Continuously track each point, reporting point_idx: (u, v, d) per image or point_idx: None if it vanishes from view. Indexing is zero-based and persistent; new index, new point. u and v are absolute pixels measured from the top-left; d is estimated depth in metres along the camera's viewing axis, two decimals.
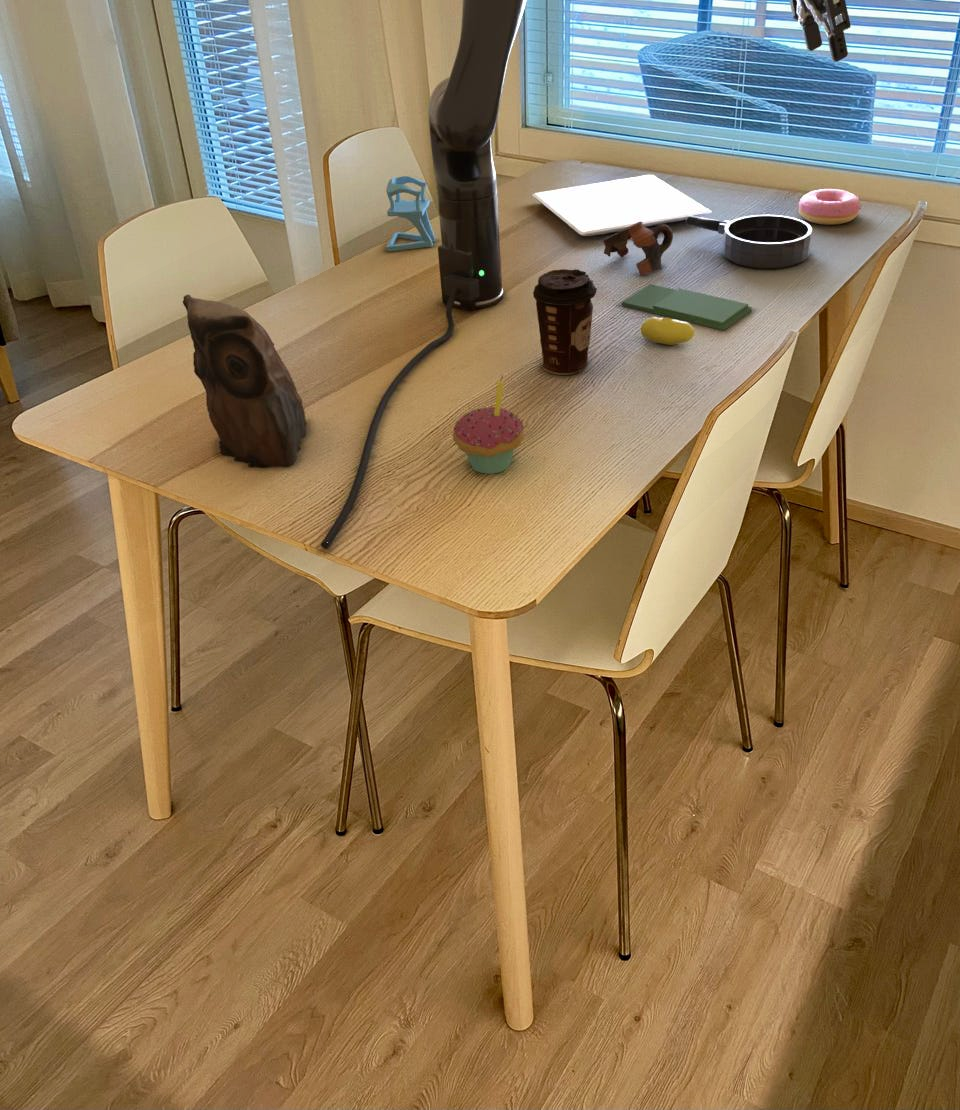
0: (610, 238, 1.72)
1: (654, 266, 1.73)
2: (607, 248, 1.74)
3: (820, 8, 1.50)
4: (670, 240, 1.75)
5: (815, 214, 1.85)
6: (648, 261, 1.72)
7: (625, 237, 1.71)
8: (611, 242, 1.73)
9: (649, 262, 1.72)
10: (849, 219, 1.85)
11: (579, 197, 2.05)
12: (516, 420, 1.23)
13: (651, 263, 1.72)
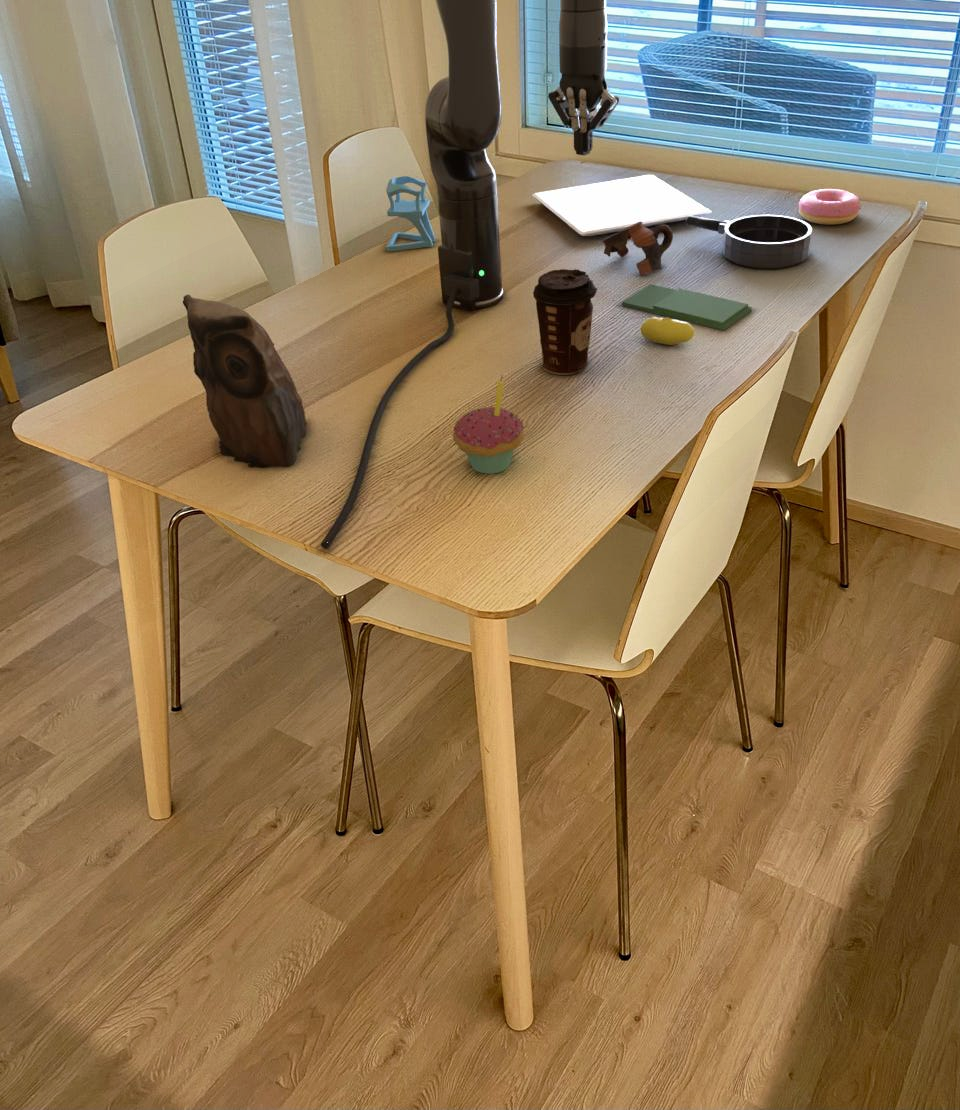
0: (610, 238, 1.72)
1: (654, 266, 1.73)
2: (607, 248, 1.74)
3: (595, 101, 1.66)
4: (670, 240, 1.75)
5: (815, 214, 1.85)
6: (648, 261, 1.72)
7: (625, 237, 1.71)
8: (611, 242, 1.73)
9: (649, 262, 1.72)
10: (849, 219, 1.85)
11: (579, 197, 2.05)
12: (516, 420, 1.23)
13: (651, 263, 1.72)
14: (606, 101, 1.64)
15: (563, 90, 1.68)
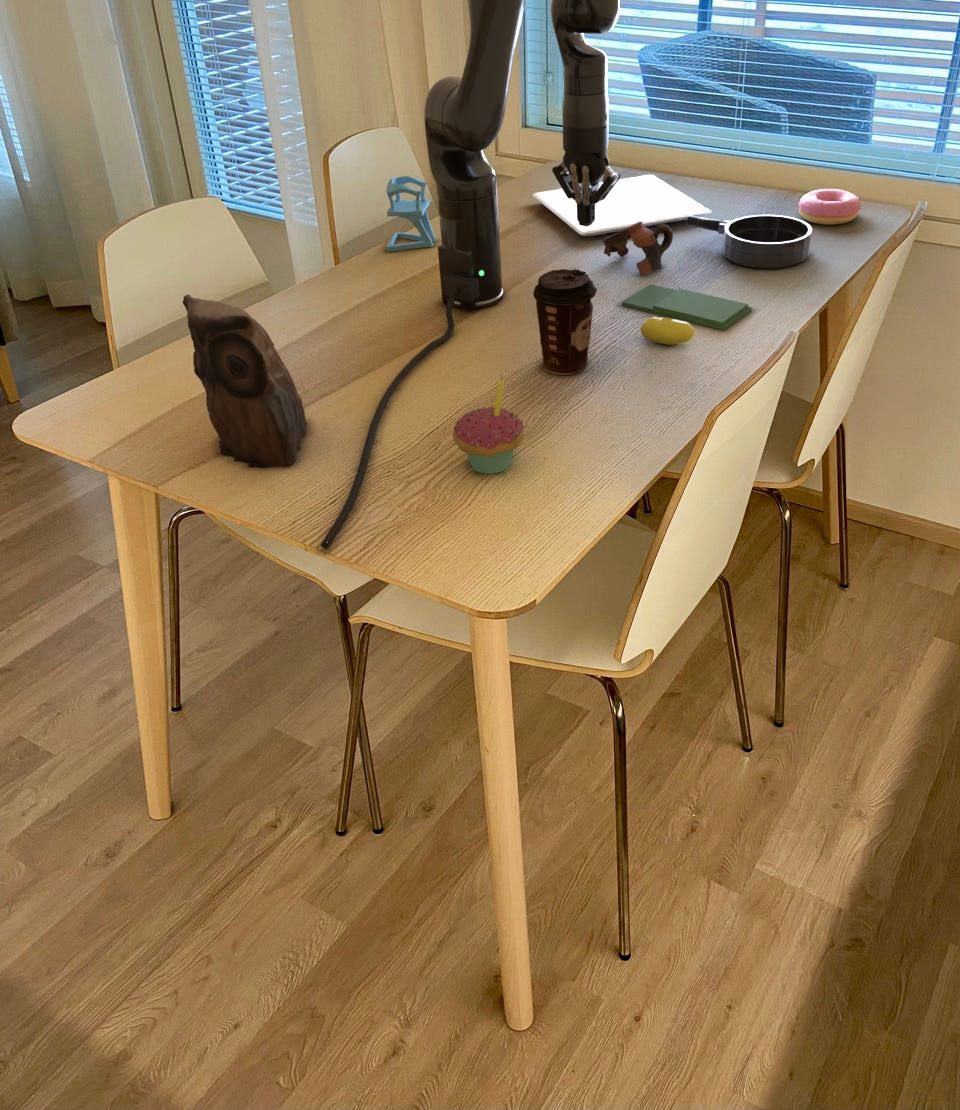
0: (610, 238, 1.72)
1: (654, 266, 1.73)
2: (607, 248, 1.74)
3: (597, 177, 1.73)
4: (670, 240, 1.75)
5: (815, 214, 1.85)
6: (648, 261, 1.72)
7: (625, 237, 1.71)
8: (611, 242, 1.73)
9: (649, 262, 1.72)
10: (849, 219, 1.85)
11: None
12: (516, 420, 1.23)
13: (651, 263, 1.72)
14: (608, 178, 1.71)
15: (566, 165, 1.75)
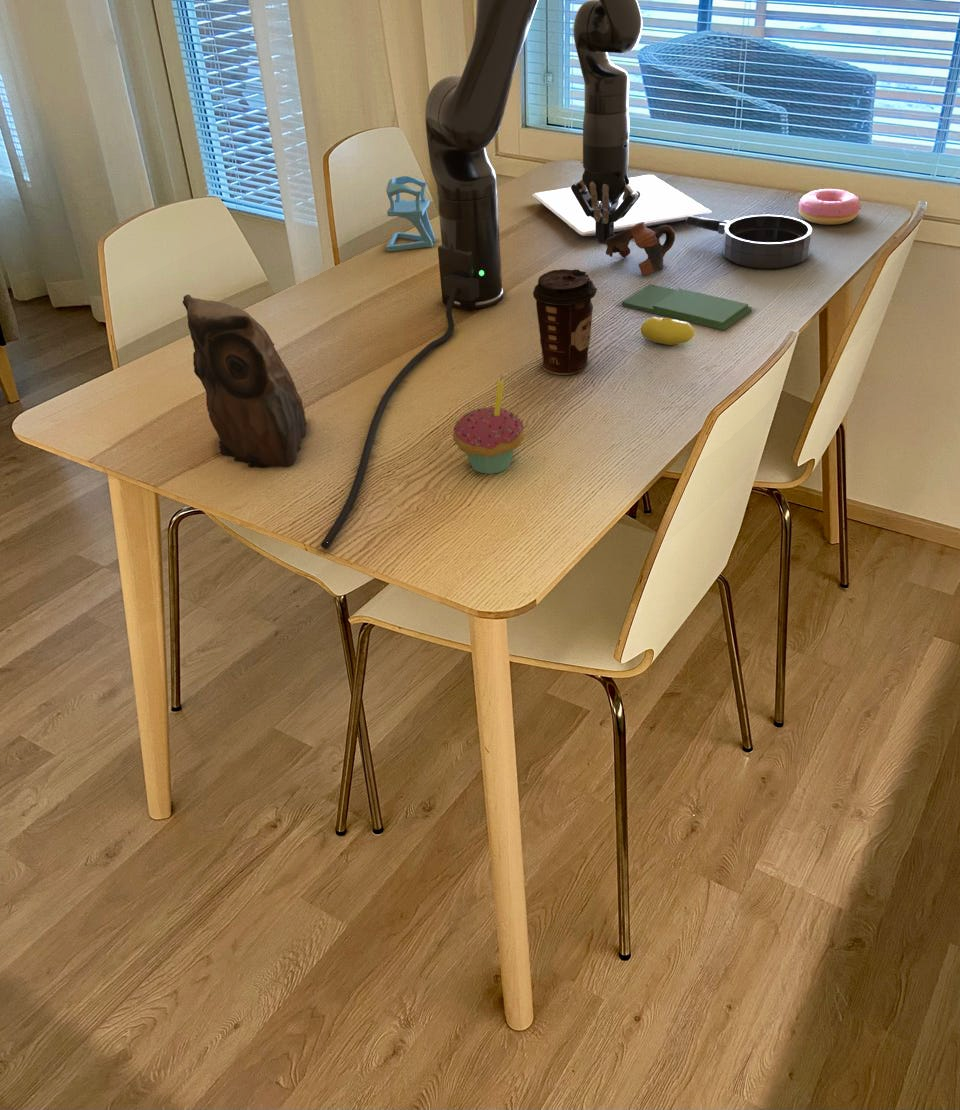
0: (612, 238, 1.72)
1: (656, 266, 1.72)
2: (609, 248, 1.73)
3: (617, 195, 1.72)
4: (672, 240, 1.74)
5: (815, 214, 1.85)
6: (650, 261, 1.72)
7: (627, 238, 1.71)
8: (613, 242, 1.72)
9: (651, 262, 1.72)
10: (849, 219, 1.85)
11: None
12: (516, 420, 1.23)
13: (653, 263, 1.72)
14: (628, 196, 1.70)
15: (586, 183, 1.74)
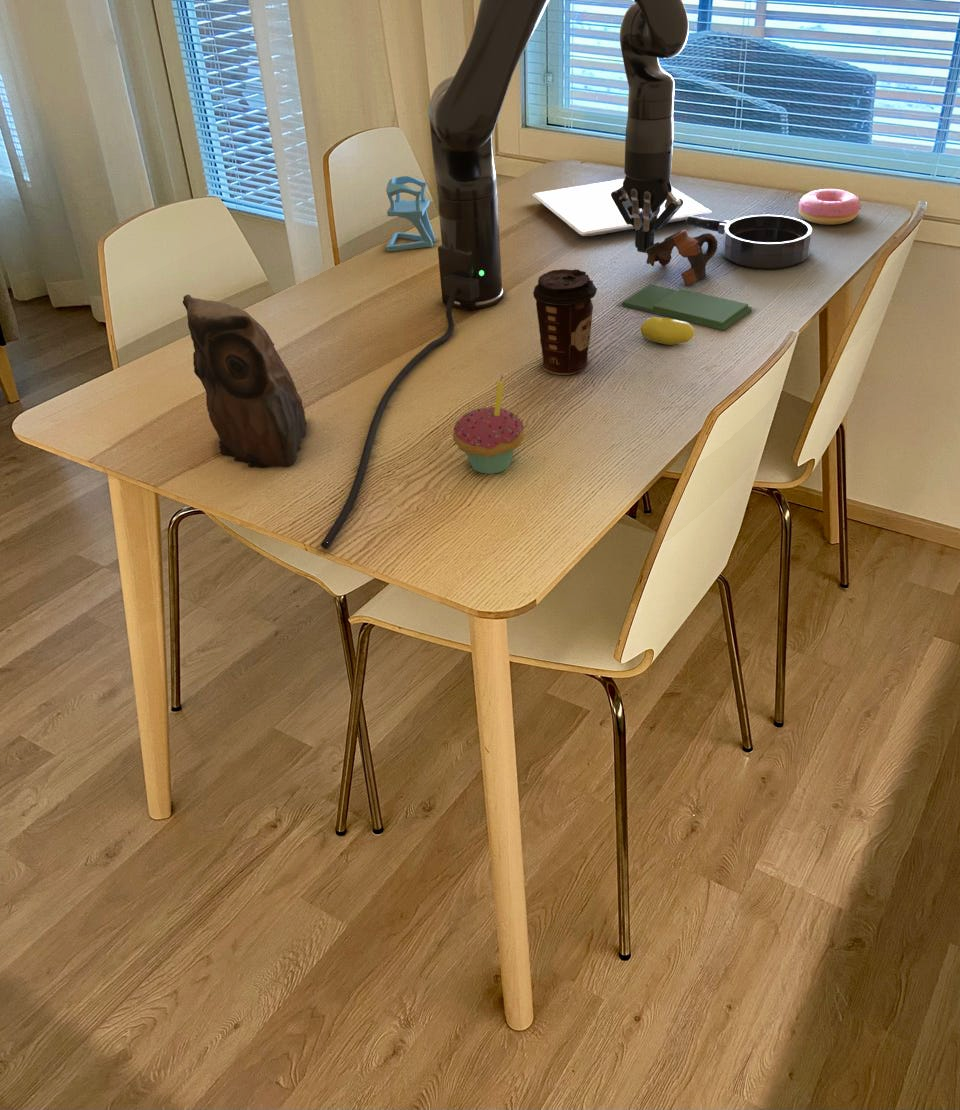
0: (654, 247, 1.68)
1: (699, 276, 1.68)
2: (651, 258, 1.69)
3: (659, 203, 1.68)
4: (715, 249, 1.70)
5: (815, 214, 1.85)
6: (693, 271, 1.67)
7: (669, 247, 1.67)
8: (655, 251, 1.68)
9: (694, 272, 1.67)
10: (849, 219, 1.85)
11: (579, 197, 2.05)
12: (516, 420, 1.23)
13: (697, 273, 1.68)
14: (671, 204, 1.66)
15: (626, 190, 1.70)
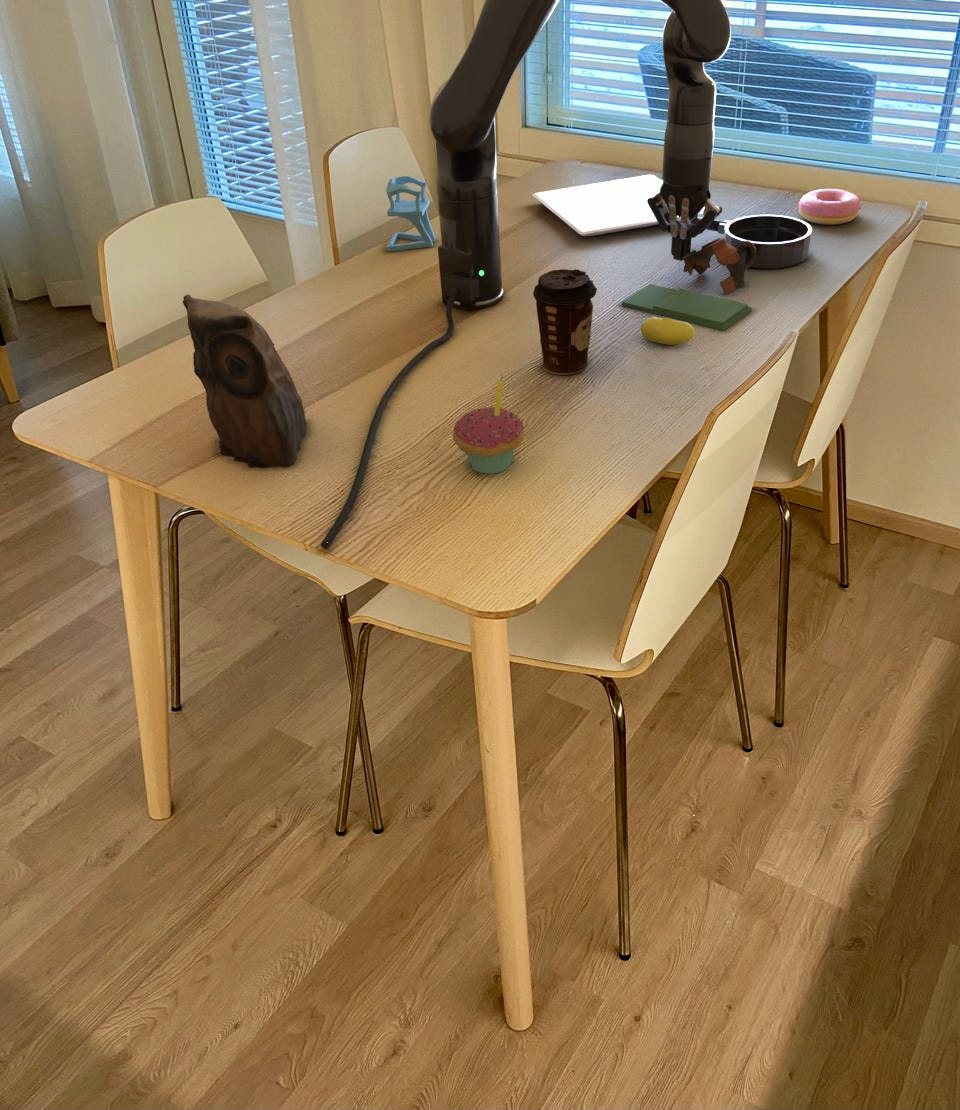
0: (692, 255, 1.64)
1: (738, 284, 1.64)
2: (688, 266, 1.65)
3: (697, 210, 1.64)
4: (753, 257, 1.66)
5: (815, 214, 1.85)
6: (733, 279, 1.63)
7: (708, 255, 1.63)
8: (693, 260, 1.64)
9: (734, 280, 1.63)
10: (849, 219, 1.85)
11: (579, 197, 2.05)
12: (516, 420, 1.23)
13: (736, 281, 1.64)
14: (710, 211, 1.62)
15: (664, 197, 1.66)
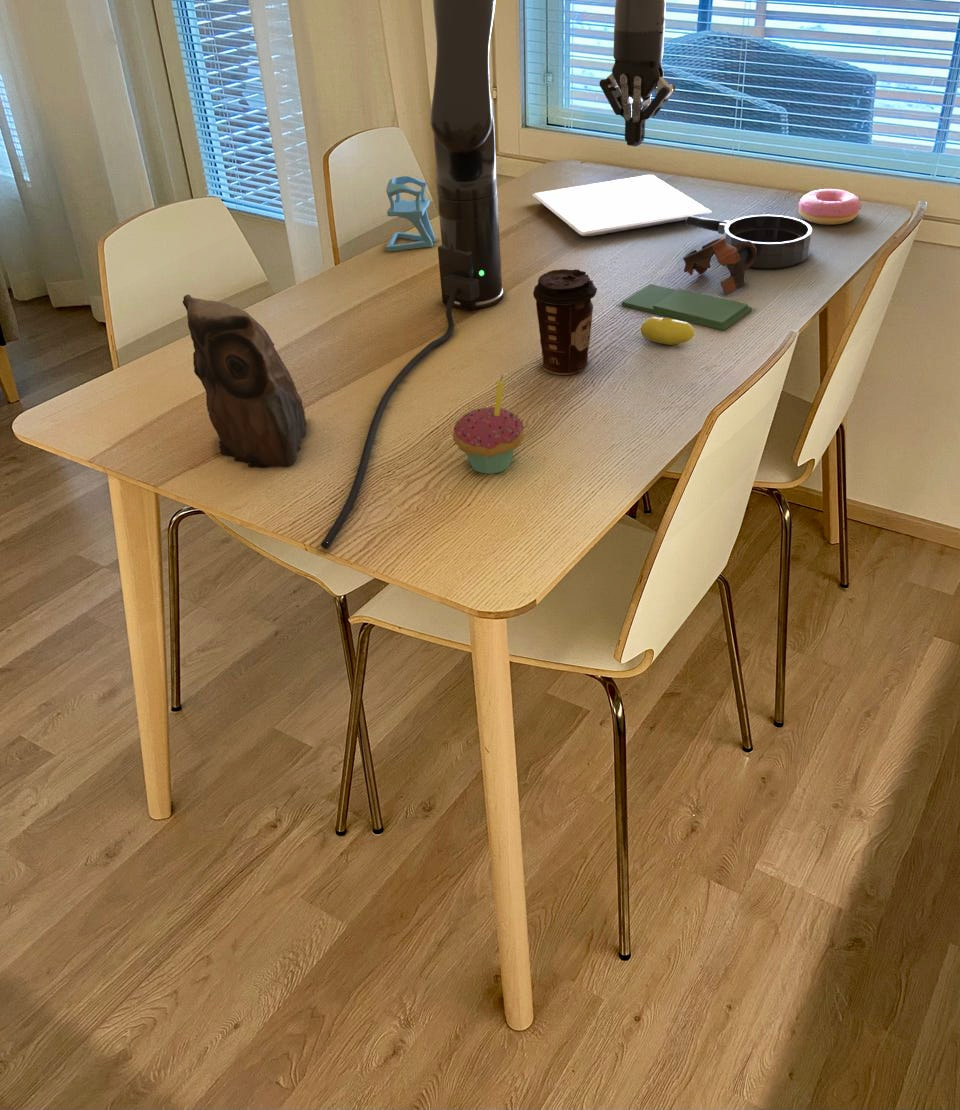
0: (692, 255, 1.64)
1: (739, 284, 1.64)
2: (689, 266, 1.65)
3: (650, 89, 1.58)
4: (754, 257, 1.66)
5: (815, 214, 1.85)
6: (733, 279, 1.63)
7: (708, 255, 1.63)
8: (693, 260, 1.64)
9: (734, 280, 1.63)
10: (849, 219, 1.85)
11: (579, 197, 2.05)
12: (516, 420, 1.23)
13: (736, 281, 1.64)
14: (662, 89, 1.57)
15: (616, 77, 1.61)
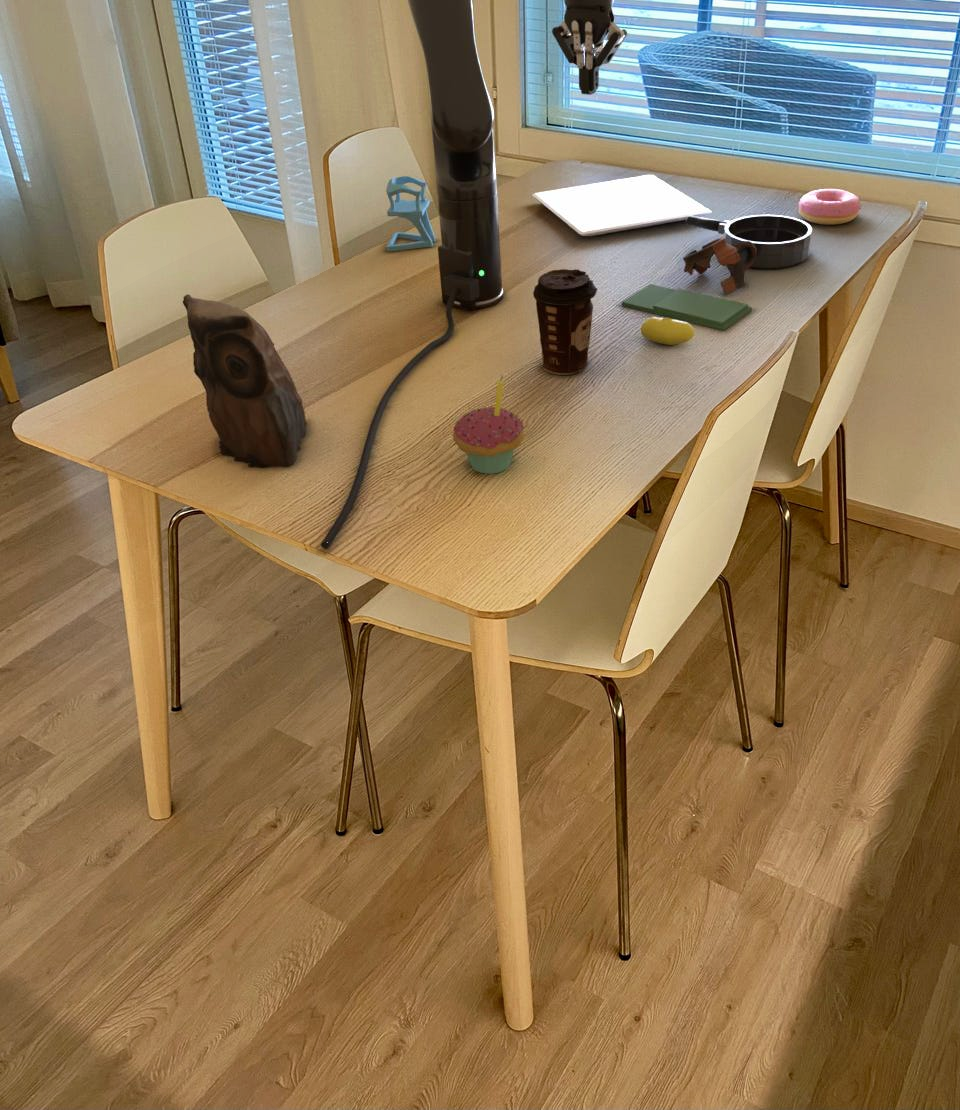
0: (692, 255, 1.64)
1: (739, 284, 1.64)
2: (689, 266, 1.65)
3: (602, 35, 1.57)
4: (754, 257, 1.66)
5: (815, 214, 1.85)
6: (733, 279, 1.63)
7: (708, 255, 1.63)
8: (693, 260, 1.64)
9: (734, 280, 1.63)
10: (849, 219, 1.85)
11: (579, 197, 2.05)
12: (516, 420, 1.23)
13: (736, 281, 1.64)
14: (613, 34, 1.55)
15: (568, 24, 1.60)
